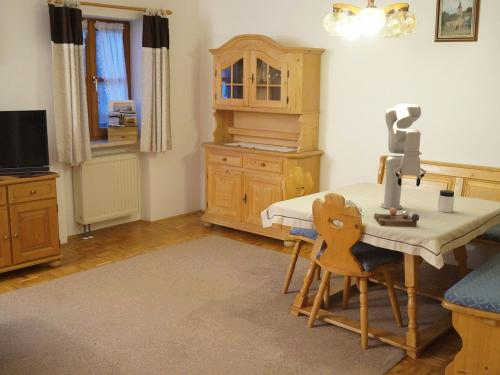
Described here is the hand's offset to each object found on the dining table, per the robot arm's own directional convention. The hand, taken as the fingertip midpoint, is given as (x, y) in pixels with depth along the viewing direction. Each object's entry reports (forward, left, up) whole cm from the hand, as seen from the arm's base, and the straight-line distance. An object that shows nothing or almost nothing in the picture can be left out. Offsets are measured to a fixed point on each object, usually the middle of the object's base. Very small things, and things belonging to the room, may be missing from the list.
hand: (408, 185), depth 302 cm
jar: (-32, +33, -21) cm, 51 cm away
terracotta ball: (-7, -5, -16) cm, 18 cm away
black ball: (+6, +3, -16) cm, 17 cm away
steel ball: (0, 0, -16) cm, 16 cm away
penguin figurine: (-17, -26, -21) cm, 38 cm away
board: (0, -6, -20) cm, 21 cm away
